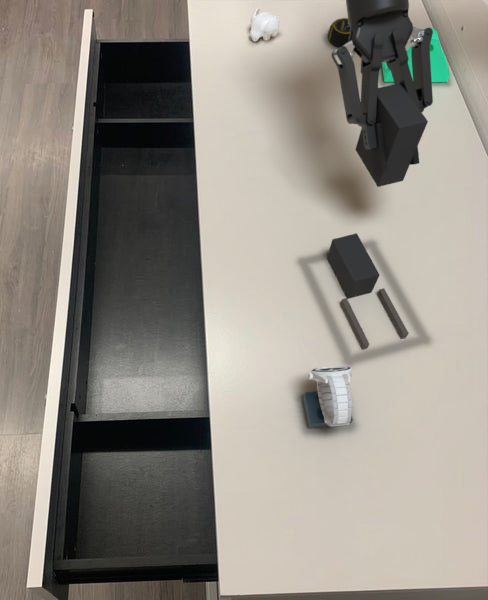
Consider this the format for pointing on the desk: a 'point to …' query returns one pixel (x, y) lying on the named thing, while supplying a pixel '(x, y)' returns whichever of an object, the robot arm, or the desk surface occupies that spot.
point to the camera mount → (436, 60)
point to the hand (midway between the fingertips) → (396, 167)
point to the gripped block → (395, 133)
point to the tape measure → (339, 32)
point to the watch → (329, 398)
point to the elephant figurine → (263, 25)
